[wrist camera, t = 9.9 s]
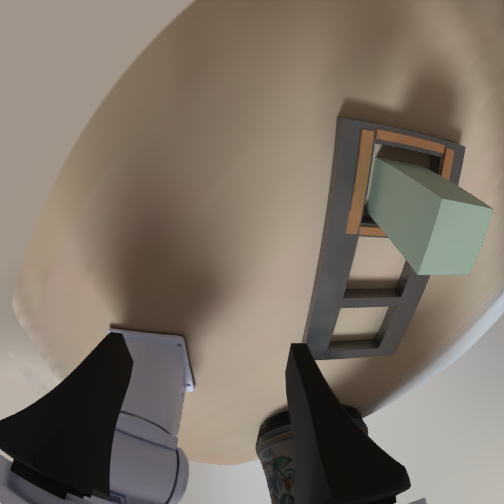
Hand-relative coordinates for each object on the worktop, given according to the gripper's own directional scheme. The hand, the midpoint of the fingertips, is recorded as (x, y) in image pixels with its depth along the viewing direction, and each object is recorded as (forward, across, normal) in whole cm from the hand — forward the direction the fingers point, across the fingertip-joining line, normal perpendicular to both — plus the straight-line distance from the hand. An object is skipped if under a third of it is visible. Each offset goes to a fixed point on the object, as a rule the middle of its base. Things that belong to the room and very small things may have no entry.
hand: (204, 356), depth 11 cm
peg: (+10, -12, -5) cm, 17 cm away
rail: (+10, -12, +2) cm, 16 cm away
